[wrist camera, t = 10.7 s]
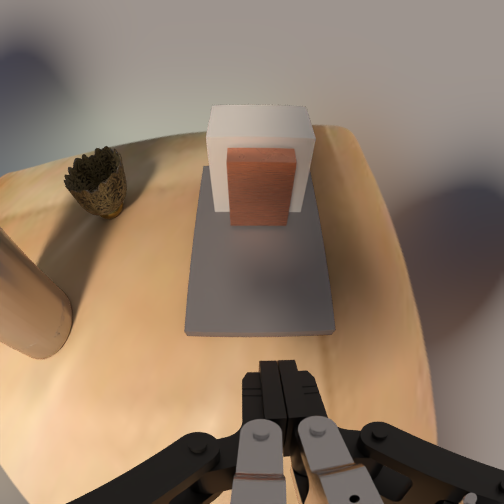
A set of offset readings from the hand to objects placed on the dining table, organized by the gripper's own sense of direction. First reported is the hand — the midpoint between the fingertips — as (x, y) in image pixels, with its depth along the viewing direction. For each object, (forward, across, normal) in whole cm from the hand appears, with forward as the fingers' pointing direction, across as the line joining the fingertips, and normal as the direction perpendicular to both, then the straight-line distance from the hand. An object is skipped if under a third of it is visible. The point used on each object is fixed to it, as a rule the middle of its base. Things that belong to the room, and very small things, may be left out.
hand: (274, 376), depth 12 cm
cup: (+26, +19, -4) cm, 33 cm away
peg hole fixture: (+22, 0, -1) cm, 23 cm away
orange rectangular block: (+26, 0, -7) cm, 27 cm away
